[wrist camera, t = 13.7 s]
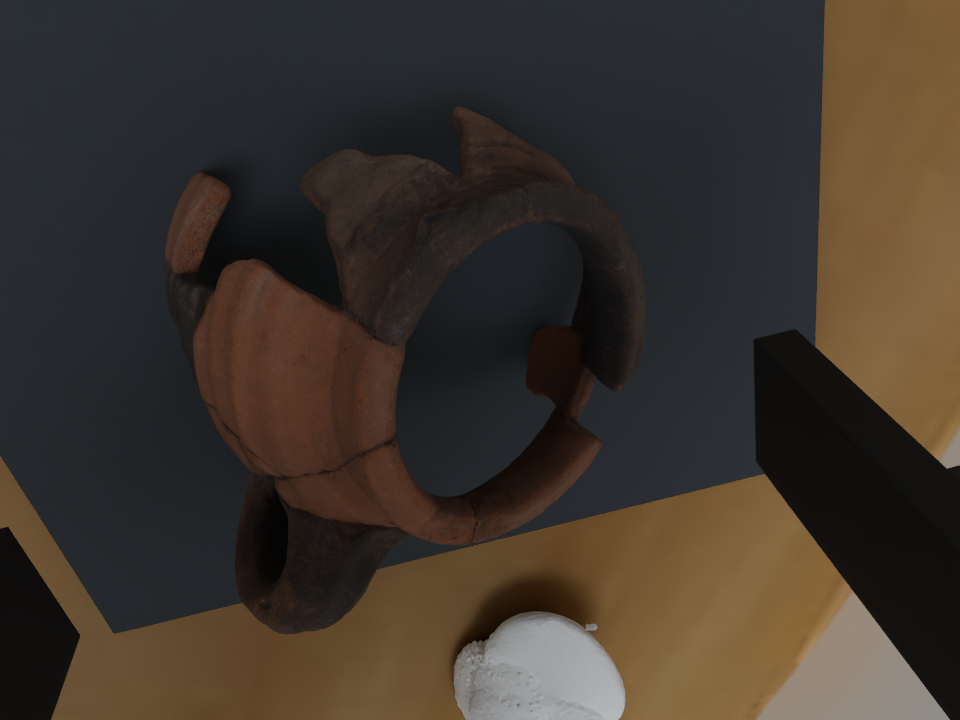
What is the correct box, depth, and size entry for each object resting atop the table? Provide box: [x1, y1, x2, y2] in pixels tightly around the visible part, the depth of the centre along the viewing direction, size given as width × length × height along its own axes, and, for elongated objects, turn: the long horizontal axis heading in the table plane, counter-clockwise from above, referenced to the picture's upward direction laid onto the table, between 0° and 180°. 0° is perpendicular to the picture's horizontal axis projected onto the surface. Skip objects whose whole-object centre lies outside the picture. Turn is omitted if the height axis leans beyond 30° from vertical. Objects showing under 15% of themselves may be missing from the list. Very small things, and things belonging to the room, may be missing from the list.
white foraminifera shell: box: [453, 611, 625, 720], centre depth 26 cm, size 7×5×4 cm
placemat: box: [0, 0, 825, 634], centre depth 21 cm, size 22×17×1 cm
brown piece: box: [164, 106, 646, 634], centre depth 18 cm, size 12×10×8 cm
